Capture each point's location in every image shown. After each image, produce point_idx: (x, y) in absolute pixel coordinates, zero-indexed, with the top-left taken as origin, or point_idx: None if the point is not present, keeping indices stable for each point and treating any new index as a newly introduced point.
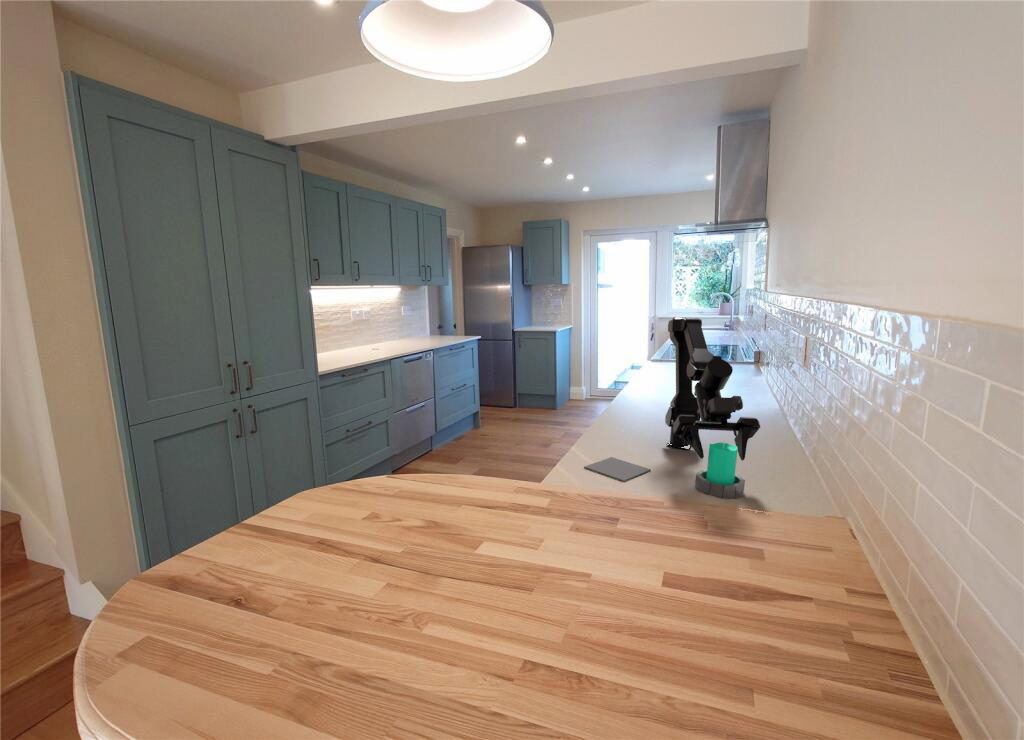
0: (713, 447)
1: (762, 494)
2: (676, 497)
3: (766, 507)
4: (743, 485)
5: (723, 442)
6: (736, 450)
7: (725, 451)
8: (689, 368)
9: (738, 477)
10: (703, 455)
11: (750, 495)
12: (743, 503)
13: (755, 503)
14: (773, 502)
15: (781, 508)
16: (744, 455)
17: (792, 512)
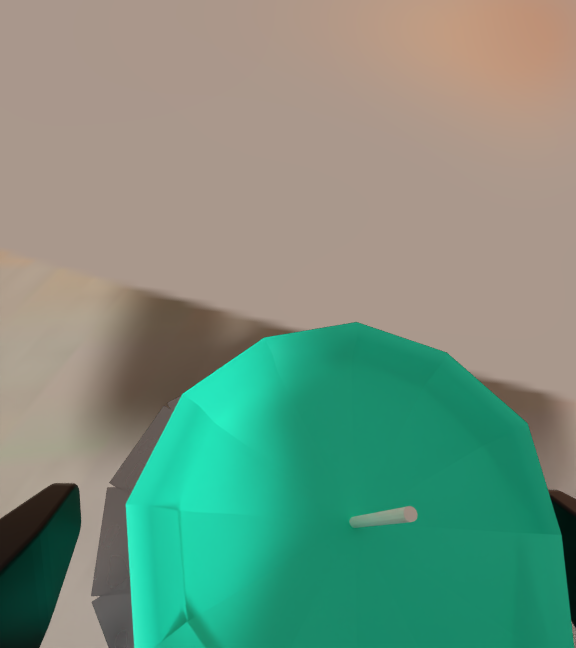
0: (528, 429)
1: (5, 483)
2: (532, 391)
3: (119, 304)
4: (170, 403)
5: (394, 515)
6: (207, 379)
7: (378, 336)
8: None
9: (127, 549)
10: (550, 494)
11: (106, 456)
12: (216, 343)
13: (149, 346)
14: (28, 364)
15: (43, 297)
16: (35, 500)
17: (20, 259)
